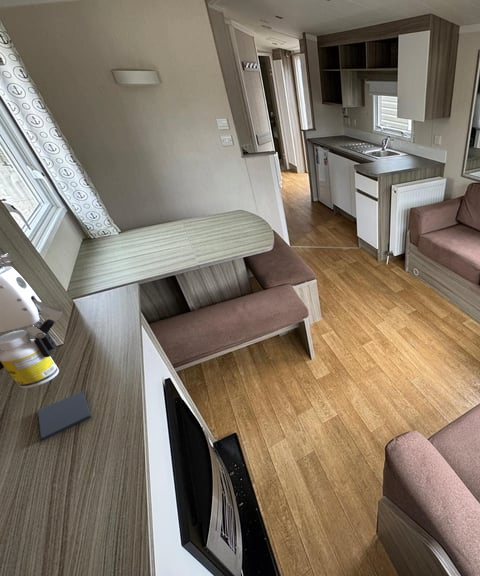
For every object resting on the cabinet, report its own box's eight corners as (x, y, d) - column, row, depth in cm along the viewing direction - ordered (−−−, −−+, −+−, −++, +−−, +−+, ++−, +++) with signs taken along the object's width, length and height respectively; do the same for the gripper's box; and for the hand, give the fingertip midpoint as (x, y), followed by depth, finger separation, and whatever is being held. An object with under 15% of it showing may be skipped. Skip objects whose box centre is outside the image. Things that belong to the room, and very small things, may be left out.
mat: (39, 412, 62) (37, 409, 62) (84, 392, 67) (82, 390, 67) (42, 440, 56) (40, 438, 56) (91, 417, 61) (90, 415, 61)
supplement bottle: (19, 379, 57) (-12, 336, 53) (58, 365, 61) (33, 324, 56) (18, 394, 54) (-14, 349, 50) (60, 378, 58) (33, 335, 53)
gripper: (46, 250, 54) (91, 333, 62) (-111, 273, 46) (-35, 366, 54) (33, 263, 49) (85, 352, 57) (-148, 291, 40) (-57, 392, 48)
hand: (26, 358), depth 55 cm, fingers closed on supplement bottle, 5 cm apart
